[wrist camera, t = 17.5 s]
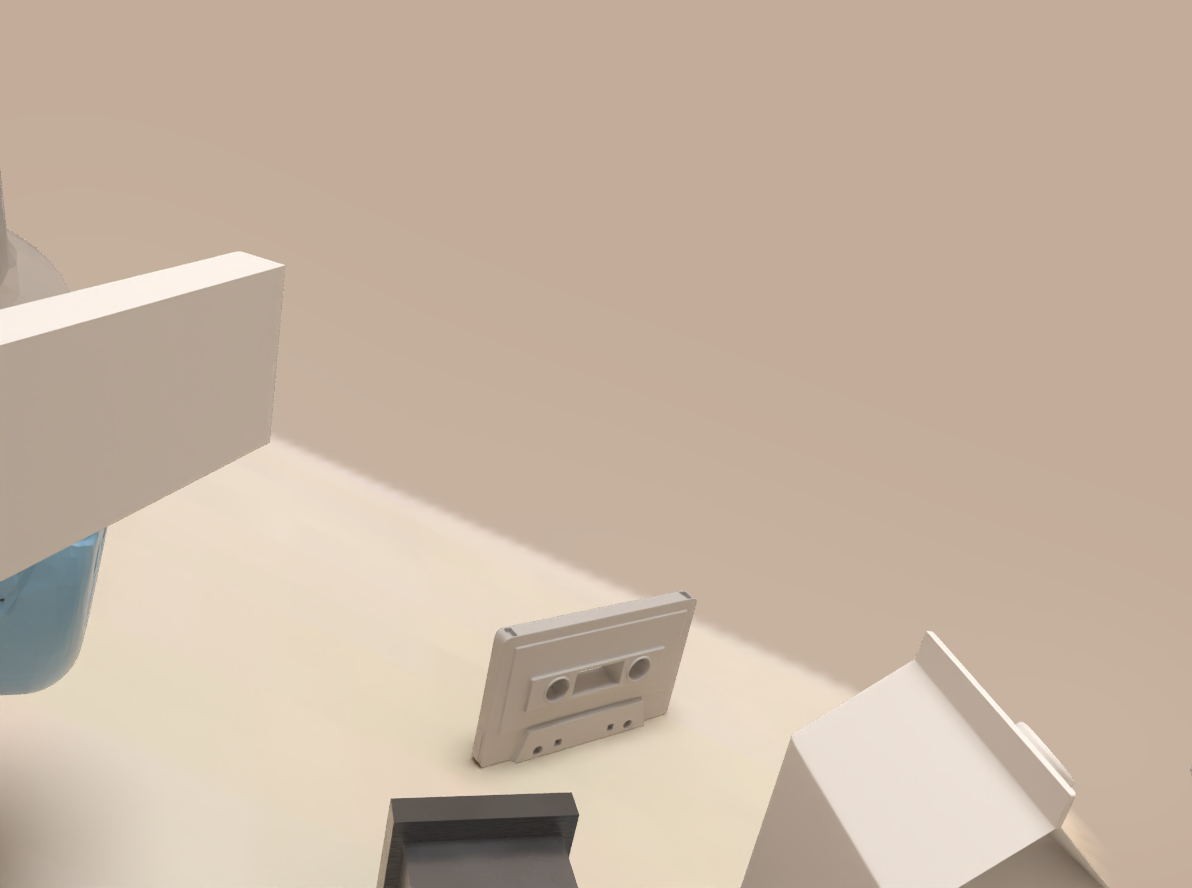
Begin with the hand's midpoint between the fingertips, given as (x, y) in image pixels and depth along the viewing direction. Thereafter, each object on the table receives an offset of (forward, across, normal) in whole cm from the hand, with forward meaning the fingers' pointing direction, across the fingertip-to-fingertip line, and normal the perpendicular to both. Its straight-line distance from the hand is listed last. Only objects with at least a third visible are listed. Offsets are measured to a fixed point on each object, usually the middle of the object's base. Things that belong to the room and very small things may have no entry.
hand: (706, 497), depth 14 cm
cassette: (+33, -8, -30) cm, 45 cm away
